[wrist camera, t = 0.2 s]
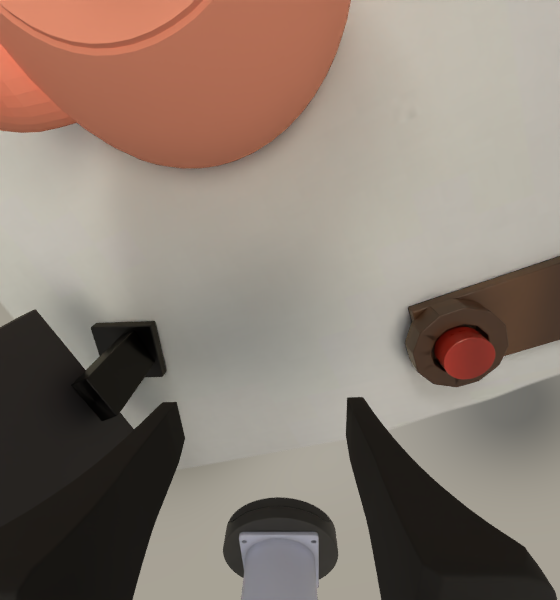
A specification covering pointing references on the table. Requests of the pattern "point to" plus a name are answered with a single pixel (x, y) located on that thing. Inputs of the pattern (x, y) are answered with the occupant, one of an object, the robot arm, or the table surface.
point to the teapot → (166, 71)
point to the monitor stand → (119, 365)
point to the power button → (464, 352)
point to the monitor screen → (44, 418)
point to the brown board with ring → (489, 318)
